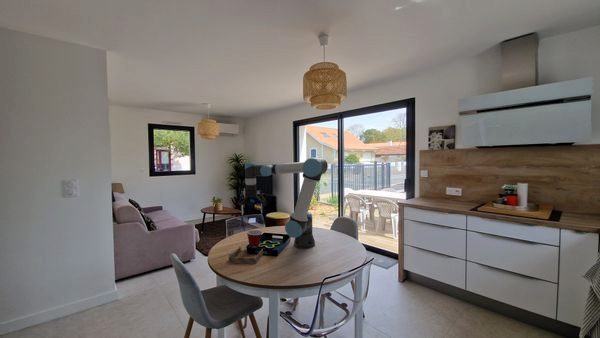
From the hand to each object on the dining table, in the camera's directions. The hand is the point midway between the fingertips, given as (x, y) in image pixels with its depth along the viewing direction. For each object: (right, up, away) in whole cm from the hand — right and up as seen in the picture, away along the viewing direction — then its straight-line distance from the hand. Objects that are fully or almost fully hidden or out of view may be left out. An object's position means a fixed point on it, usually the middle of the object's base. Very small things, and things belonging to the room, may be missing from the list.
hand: (252, 213), depth 177 cm
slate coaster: (-9, -24, -15) cm, 29 cm away
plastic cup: (+3, -23, -7) cm, 24 cm away
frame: (+1, -24, -21) cm, 32 cm away
